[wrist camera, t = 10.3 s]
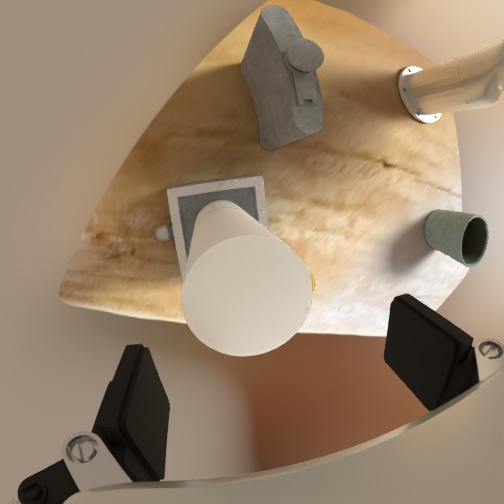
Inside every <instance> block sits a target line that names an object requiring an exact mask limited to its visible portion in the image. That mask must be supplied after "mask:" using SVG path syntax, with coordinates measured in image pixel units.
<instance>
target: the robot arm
mask: <svg viewBox="0 0 504 504" xmlns="http://www.w3.org/2000/svg"><path fill="white" fill-rule="evenodd" d="M398 88H399V93H400V96H401V99H402V101H403V103H404V105H405V107H406V108H407V110H408V111H409V112H410V114H411V115H412V116H413V117H415V118H416V119H417V120H419V121H421V122H423V123H433V122H435V121H437V120H438V119H439V117H440V116H441V114H442V113H448V112H454V111H461V110H468V109H476V108H484V107H490V106H492V105H494V104H495V103H496V102H497V101H498V100H499V98H500V97H501V95H502V93H503V90H504V40H502V41H500V42H498V43H496V44H494V45H492V46H490V47H487V48H485V49H483V50H480V51H477V52H474V53H471V54H468V55H465V56H461V57H458V58H455V59H452V60H449V61H446V62H443V63H440V64H437V65H434V66H431V67H429V68H426V69H421V68H418V67H414V66H411V67H407V68H405V69H404V70H402V72H401V73H400V75H399V79H398ZM472 342H473V338H472V337H471V336H470V335H468V334H467V333H465V332H464V331H462V330H461V329H460V328H458V327H457V326H455V325H454V324H452V323H451V322H450V321H448V320H447V319H445V318H444V317H442V316H441V315H440V314H438V313H437V312H435V311H434V310H432V309H431V308H429V307H428V306H426V305H425V304H423V303H422V302H420V301H419V300H417V299H416V298H414V297H413V296H411V295H410V294H403V295H400V296H396V297H395V298H394V300H393V301H392V302H391V305H390V315H389V323H388V331H387V338H386V344H385V351H384V360H385V362H386V363H387V364H388V365H389V367H390V368H391V369H392V370H393V371H394V372H395V373H396V374H397V376H398V377H399V378H400V379H401V380H402V381H403V382H404V383H405V384H406V386H407V387H408V388H409V389H410V390H411V391H412V392H413V394H414V395H415V396H416V397H417V398H418V399H419V400H420V401H421V402H422V404H423V405H424V406H425V407H426V408H427V409H428V410H429V411H431V412H429V413H428V414H426V415H424V416H422V417H420V418H418V419H416V420H414V421H412V422H410V423H408V424H406V425H404V426H402V427H400V428H398V429H395V430H393V431H391V432H389V433H387V434H385V435H382V436H380V437H377V438H375V439H372V440H370V441H367V442H365V443H362V444H360V445H357V446H354V447H351V448H348V449H346V450H343V451H340V452H337V453H334V454H330V455H327V456H324V457H321V458H317V459H314V460H310V461H307V462H302V463H299V464H295V465H291V466H286V467H282V468H277V469H272V470H267V471H262V472H256V473H250V474H243V475H236V476H228V477H220V478H210V479H199V480H182V481H160V480H162V479H164V476H165V458H166V444H167V433H168V421H169V411H170V404H169V400H168V397H167V395H166V393H165V390H164V388H163V385H162V383H161V380H160V378H159V375H158V372H157V370H156V367H155V364H154V362H153V359H152V356H151V353H150V350H149V349H148V347H145V348H144V346H143V345H142V344H134V345H127V346H126V348H125V350H124V353H123V355H122V357H121V360H120V363H119V365H118V367H117V370H116V373H115V375H114V378H113V380H112V381H110V383H109V384H108V387H107V390H106V392H105V395H104V398H103V401H102V403H101V406H100V409H99V411H98V415H97V417H96V420H95V423H94V426H93V429H92V432H86V431H85V432H79V433H76V434H73V435H72V436H70V437H69V438H68V439H67V440H66V441H65V442H64V444H63V446H62V456H63V459H62V460H60V461H58V462H56V463H55V464H53V465H51V466H49V467H48V468H45V469H44V470H42V471H40V472H38V473H36V474H34V475H32V476H30V477H28V478H26V479H25V480H23V481H22V483H21V484H20V486H19V489H18V498H19V500H18V501H16V500H14V499H13V500H12V501H11V502H10V503H8V504H504V346H503V345H502V344H501V343H500V342H498V341H495V340H493V339H483V340H480V341H478V342H477V343H476V345H475V347H472V346H471V345H472Z"/></svg>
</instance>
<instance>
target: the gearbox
mask: <svg viewBox="0 0 504 504" xmlns="http://www.w3.org/2000/svg"><path fill="white" fill-rule="evenodd" d="M167 196H168V203H169V209H170V216H171V222H172V223H169V224H163V225H157V226H154V234H155V239H156V241H157V242H160V241H166V240H172V239H174V240H175V245H176V251H177V256H178V261H179V267H180V272H181V277H182V282H184V277H185V271H186V266H187V261H188V256H189V251H190V246H191V241H192V236H193V231H194V227H195V222H196V218H197V216H198V214H199V212H200V210H201V209H202V208H203V207H204V206H205V205H207V204H208V203H210V202H213V201H216V200H227V201H230V202H233V203H235V204H236V205H238V206H239V207H240V208H241V209H243V210H244V211H245V212H247V213H248V214H249V215H250V216H252V217H253V218H254V219H255V220H257V221H258V222H259V223H261V224H262V225H263V226H264V227H266V228H267V229H268V230H269V226H268V217H267V207H266V198H265V189H264V180H263V176H261V174H256V175H247V176H238V177H230V178H223V179H215V180H208V181H201V182H195V183H188V184H182V185H176V186H170V187H167Z"/></svg>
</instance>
